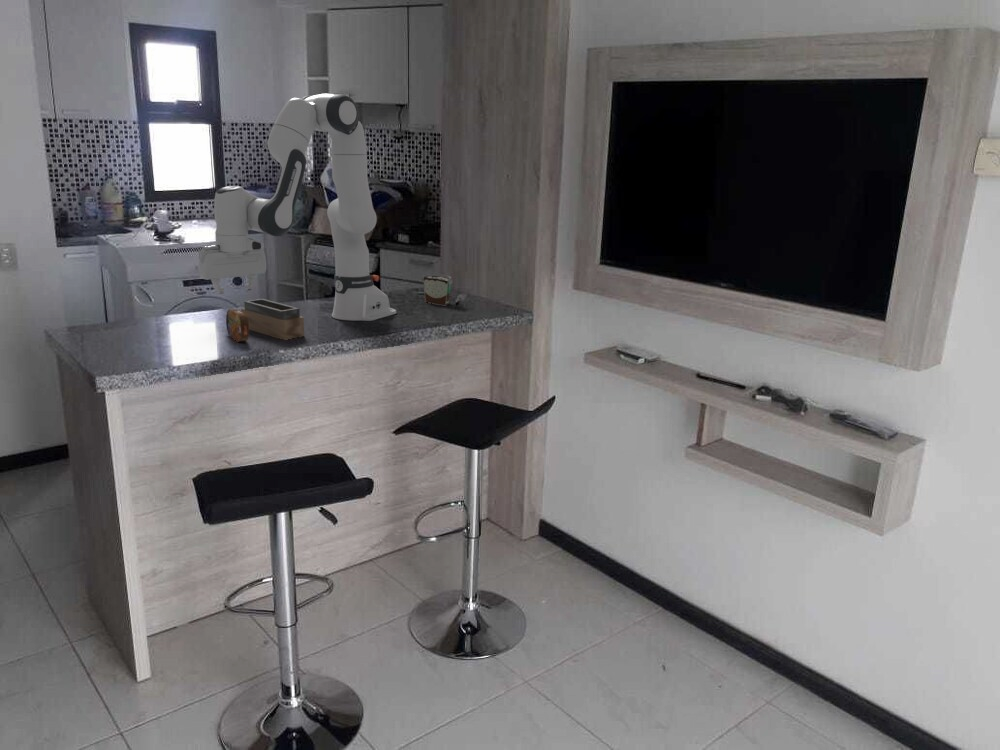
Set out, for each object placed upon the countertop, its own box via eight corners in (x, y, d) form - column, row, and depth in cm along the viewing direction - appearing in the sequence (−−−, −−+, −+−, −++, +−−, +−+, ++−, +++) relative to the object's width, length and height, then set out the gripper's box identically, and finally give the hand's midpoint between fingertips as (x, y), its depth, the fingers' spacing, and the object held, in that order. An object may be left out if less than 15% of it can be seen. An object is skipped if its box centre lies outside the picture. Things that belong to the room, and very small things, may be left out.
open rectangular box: (261, 323, 258) (260, 297, 255) (304, 336, 244) (303, 309, 242) (242, 327, 252) (240, 300, 250) (284, 340, 239) (283, 312, 237)
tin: (226, 333, 245) (224, 306, 242) (236, 332, 246) (234, 305, 244) (240, 345, 233) (238, 316, 230) (251, 344, 234) (249, 315, 232)
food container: (458, 303, 297) (459, 277, 294) (449, 306, 292) (449, 279, 289) (431, 299, 303) (432, 273, 300) (421, 301, 298) (422, 275, 295)
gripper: (205, 248, 222) (207, 297, 225) (268, 243, 237) (270, 289, 241) (192, 245, 225) (195, 294, 229) (256, 240, 241) (257, 286, 244)
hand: (234, 291), depth 235 cm, fingers open, 8 cm apart
